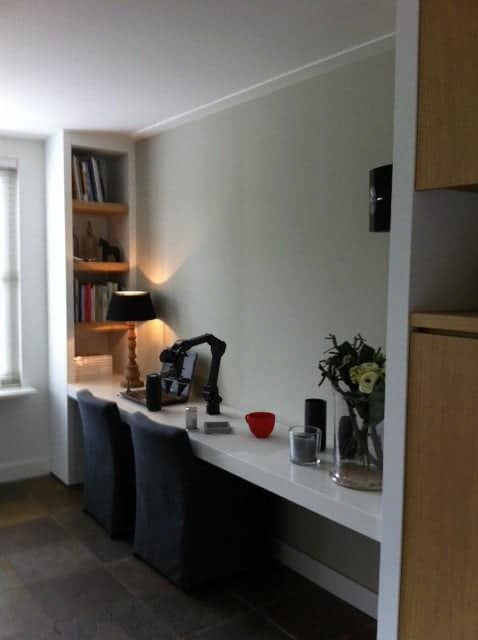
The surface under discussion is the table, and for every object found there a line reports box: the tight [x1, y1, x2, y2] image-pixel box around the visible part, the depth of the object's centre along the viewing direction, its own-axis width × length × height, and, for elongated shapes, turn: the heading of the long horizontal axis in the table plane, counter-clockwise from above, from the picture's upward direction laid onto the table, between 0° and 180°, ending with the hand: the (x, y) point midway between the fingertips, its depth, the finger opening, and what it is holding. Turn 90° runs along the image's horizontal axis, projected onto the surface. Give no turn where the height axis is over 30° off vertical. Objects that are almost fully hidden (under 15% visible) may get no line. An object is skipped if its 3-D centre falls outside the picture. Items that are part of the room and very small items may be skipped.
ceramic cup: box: [244, 411, 276, 439], centre depth 289 cm, size 13×17×10 cm
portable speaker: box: [145, 372, 163, 412], centre depth 337 cm, size 9×9×20 cm
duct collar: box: [203, 420, 232, 435], centre depth 297 cm, size 12×12×2 cm
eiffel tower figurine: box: [116, 376, 133, 400], centre depth 369 cm, size 15×10×13 cm
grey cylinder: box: [184, 406, 200, 433], centre depth 297 cm, size 7×7×11 cm
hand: (172, 395), depth 310 cm, fingers open, 9 cm apart
